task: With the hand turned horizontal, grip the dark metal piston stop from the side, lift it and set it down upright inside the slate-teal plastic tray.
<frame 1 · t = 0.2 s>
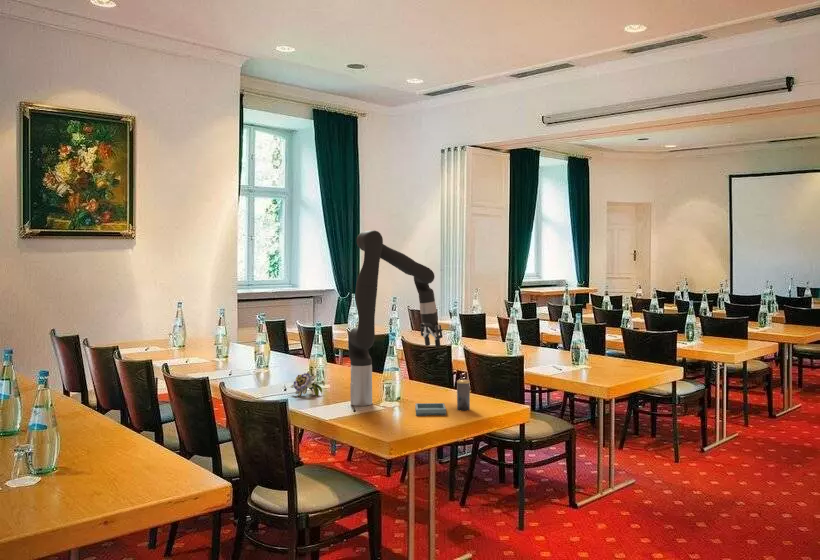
hand: (432, 346, 330), 23 cm above the table, fingers open, 8 cm apart
tray: (430, 412, 296), on the table
passion flower: (307, 395, 335), on the table
piston stop: (463, 409, 301), on the table
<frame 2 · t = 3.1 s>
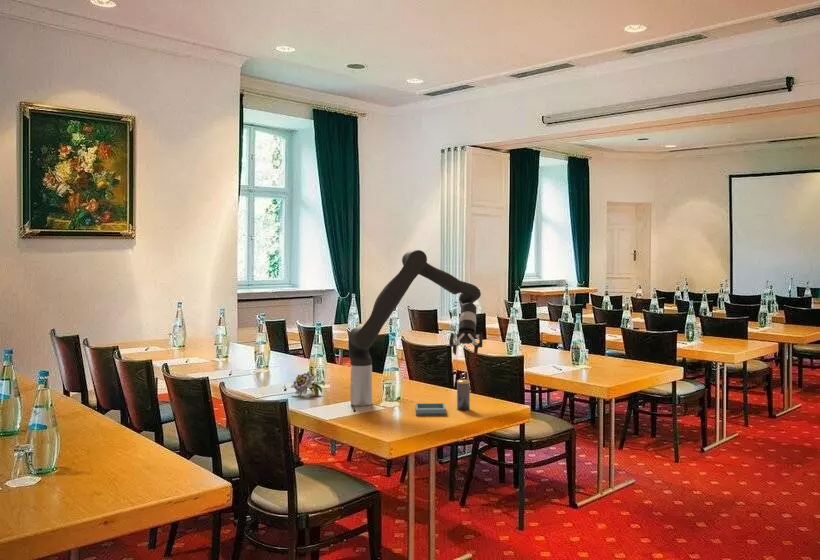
hand: (465, 353, 310), 22 cm above the table, fingers open, 8 cm apart
nothing on the table moved.
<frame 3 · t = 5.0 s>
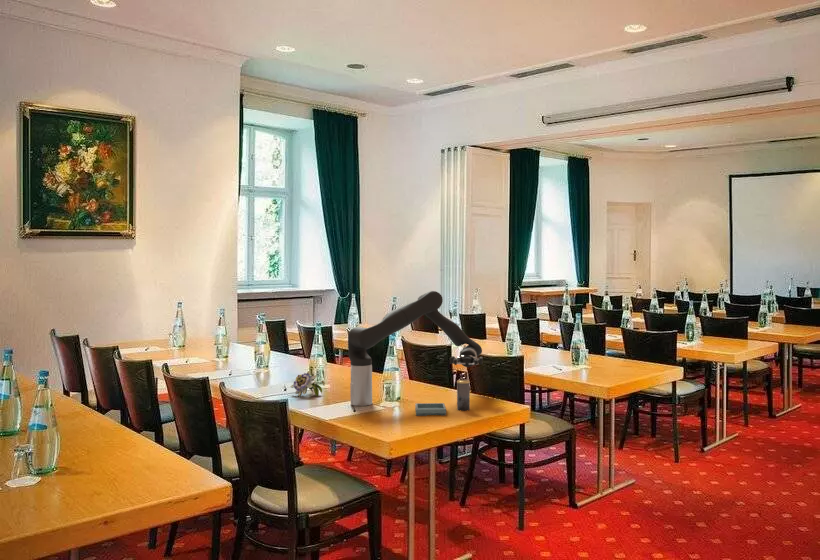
hand: (465, 362, 310), 18 cm above the table, fingers open, 8 cm apart
nothing on the table moved.
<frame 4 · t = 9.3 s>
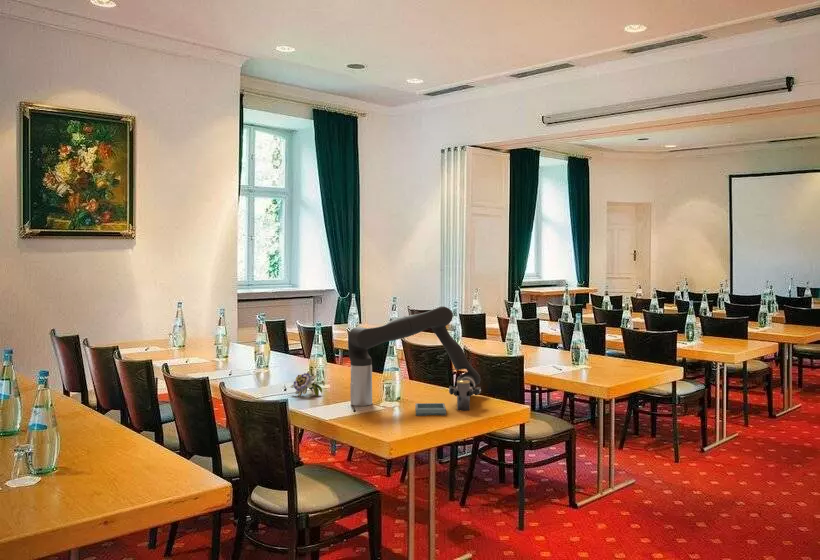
hand: (462, 393, 298), 7 cm above the table, fingers closed on piston stop, 5 cm apart
piston stop: (463, 409, 301), on the table, touching gripper
everything else where it was.
when the fingers open (9 cm above the table, at t = 14.9 s): piston stop stays where it is, resting on tray.
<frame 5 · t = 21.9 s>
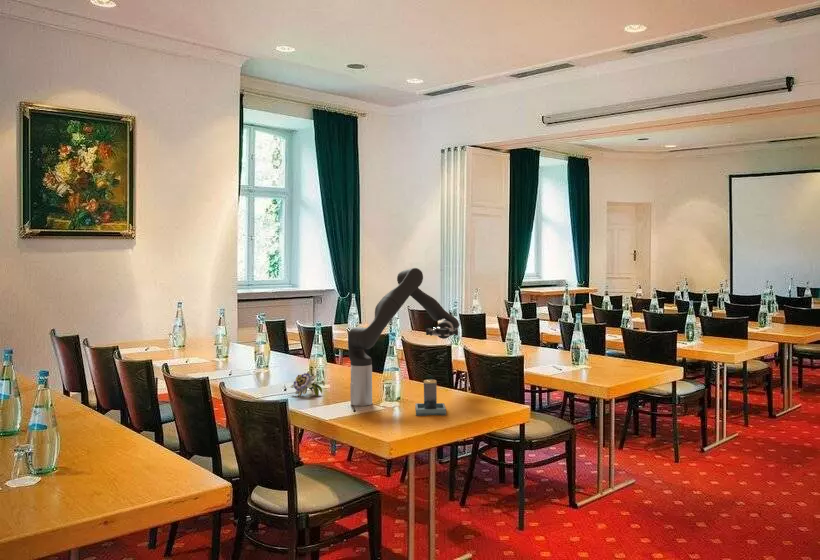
hand: (440, 333, 317), 30 cm above the table, fingers open, 8 cm apart
piston stop: (430, 409, 296), point 1 cm above the table, touching tray
everything else where it was.
at the end: piston stop 0.1 cm off-centre on the tray, point 1.0 cm above the tray's base; piston stop tilted 1°; the gripper is holding nothing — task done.
